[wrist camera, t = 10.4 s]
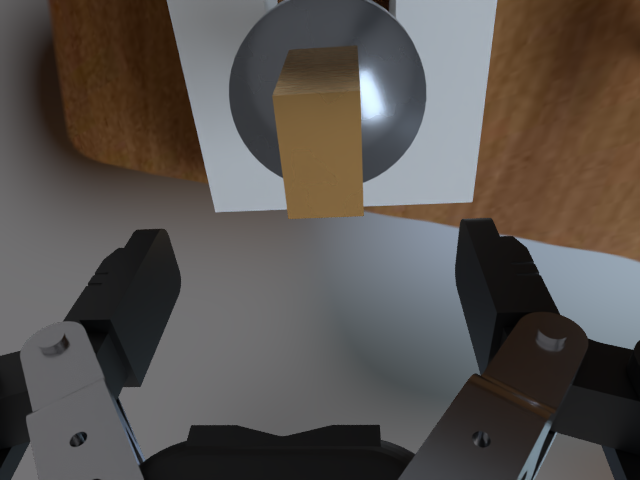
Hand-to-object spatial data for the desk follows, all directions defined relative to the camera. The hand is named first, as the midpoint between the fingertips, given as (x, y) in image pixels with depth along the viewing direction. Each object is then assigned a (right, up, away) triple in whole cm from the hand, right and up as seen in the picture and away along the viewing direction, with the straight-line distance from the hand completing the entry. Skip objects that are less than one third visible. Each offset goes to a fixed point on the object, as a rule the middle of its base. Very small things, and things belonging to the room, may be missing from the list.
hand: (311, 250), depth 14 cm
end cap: (+1, +11, +15) cm, 19 cm away
